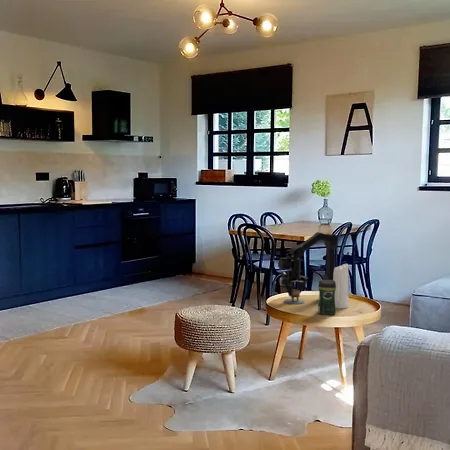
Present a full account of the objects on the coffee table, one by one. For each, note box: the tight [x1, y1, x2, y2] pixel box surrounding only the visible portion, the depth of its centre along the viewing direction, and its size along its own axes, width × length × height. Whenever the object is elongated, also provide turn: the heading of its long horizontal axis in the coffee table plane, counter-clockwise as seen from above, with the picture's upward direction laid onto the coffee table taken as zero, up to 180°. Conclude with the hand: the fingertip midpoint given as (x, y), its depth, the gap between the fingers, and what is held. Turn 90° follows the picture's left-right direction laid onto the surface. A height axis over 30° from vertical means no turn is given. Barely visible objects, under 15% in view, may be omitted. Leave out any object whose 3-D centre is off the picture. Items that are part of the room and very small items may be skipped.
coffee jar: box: [317, 279, 337, 316], centre depth 303 cm, size 10×8×19 cm
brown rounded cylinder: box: [289, 288, 301, 302], centre depth 330 cm, size 6×6×6 cm
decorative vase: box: [333, 263, 350, 309], centre depth 320 cm, size 11×11×25 cm
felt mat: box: [283, 298, 305, 305], centre depth 331 cm, size 12×12×1 cm
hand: (294, 294), depth 330 cm, fingers open, 9 cm apart
